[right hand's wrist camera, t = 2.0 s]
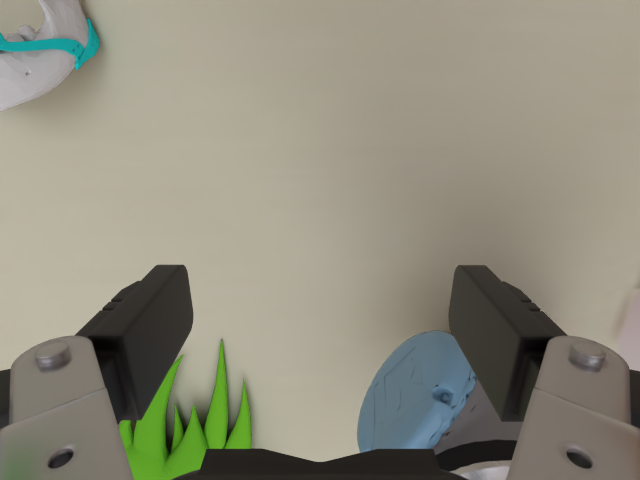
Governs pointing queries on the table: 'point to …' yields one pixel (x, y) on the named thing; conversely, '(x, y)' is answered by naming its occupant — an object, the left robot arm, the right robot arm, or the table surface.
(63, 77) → the anatomical model
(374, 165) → the table surface
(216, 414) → the toy
